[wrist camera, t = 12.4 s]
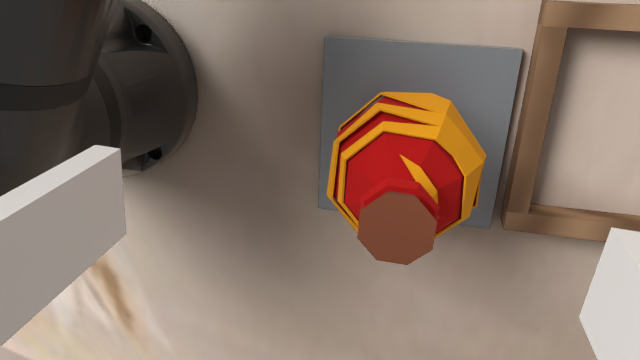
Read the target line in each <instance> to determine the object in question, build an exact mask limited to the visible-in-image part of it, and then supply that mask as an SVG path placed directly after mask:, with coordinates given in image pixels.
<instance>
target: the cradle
mask: <svg viewBox="0 0 640 360" xmlns="http://www.w3.org/2000/svg"><path fill="white" fill-rule="evenodd" d="M568 28H586V29H604V30H622V31H640V5H634V4H614V3H593V2H572V1H551V0H542V4H541V9H540V14H539V20H538V25H537V30H536V35H535V41H534V46H533V51H532V56H531V61H530V67H529V72H528V77H527V82H526V87H525V93H524V98H523V103H522V108H521V113H520V119H519V124H518V129H517V134H516V139H515V145H514V150H513V155H512V160H511V165H510V171H509V176H508V181H507V186H506V191H505V197H504V202H503V207H502V212H501V217H500V218H501V222H502V225H503V229H504V230H513V231H521V232H529V233H538V234H546V235H554V236H563V237H571V238H580V239H588V240H596V241H605V242H606V241H607V238H608V235H609V232H610V230H611V227H612V228H618V229H625V230H631V231H637V232H640V216H635V215H626V214H617V213H608V212H599V211H590V210H581V209H572V208H563V207H554V206H545V205H536V204H530V202H531V197H532V193H533V188H534V183H535V179H536V174H537V169H538V165H539V160H540V155H541V151H542V146H543V141H544V137H545V132H546V127H547V123H548V118H549V114H550V109H551V104H552V100H553V95H554V90H555V86H556V81H557V76H558V72H559V67H560V62H561V58H562V53H563V48H564V44H565V39H566V34H567V30H568Z"/></svg>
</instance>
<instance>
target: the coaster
mask: <svg viewBox="0 0 640 360" xmlns="http://www.w3.org/2000/svg"><path fill="white" fill-rule="evenodd" d="M522 53H523V49H522V48H509V47H493V46H477V45H461V44H445V43H430V42H414V41H398V40H382V39H367V38H351V37H335V36H325V39H324V65H323V91H322V117H321V142H320V168H319V194H318V208H323V209H332V210H338V208H337V207H336V206H335V205H334V204H333V202H332V201H331V200H330V199H329V197H328V196H327V187H328V180H329V172H330V164H331V157H332V149H333V142H334V141H335V140H336V139H337V133H338V129H339V126H340V125H341V124H343V123H344V122H345V121H346V120H348V119H349V118H350V117H351V116H352V115H354V114H355V113H356V112H357V111H358V110H360V109H361V108H362V107H363V106H364V105H366V104H367V103H368V102H369V101H371V100H372V99H373V98H374V97H375V96H377V95H378V94H379V93H380V92H412V93H433V94H436V95H438V96H441V97H443V98H445V99H448V100H450V101H451V102H452V103H453V105H454V106H455V108H456V109H457V111H458V112H459V114H460V115H461V117H462V118H463V120H464V121H465V123H466V125H467V126H468V128H469V129H470V131H471V132H472V134H473V135H474V137H475V138H476V140H477V141H478V143H479V144H480V146H481V148H482V149H483V151H484V152H485V154H486V159H485V162H484V166H483V170H482V176H481V183H480V190H479V197H478V204H477V207H476V208H473V209H472V210H471V214H470V217H469V218H467V219H465V220H464V221H462V222H461V223H459V224H457V225H465V226H473V227H482V228H490V225H491V220H492V215H493V209H494V204H495V198H496V193H497V188H498V182H499V177H500V171H501V166H502V161H503V155H504V150H505V144H506V139H507V134H508V128H509V123H510V117H511V112H512V107H513V101H514V96H515V90H516V85H517V80H518V74H519V69H520V63H521V58H522ZM382 97H385V96H382ZM382 97H381V98H382ZM381 98H379V99H378V100H376V101H374V102H373V103H372V104H371V105H370V106H368V107H367V108H366V109H365V110H364V111H366V110H367V109H368V108H370V107H371V106H372V105H373V104H375V103H376V102H377V101H379V100H380V99H381ZM364 111H363V112H364ZM363 112H362V113H363ZM362 113H361V114H362ZM361 114H360V115H361ZM333 199H334V200H335V198H334V197H333ZM335 201H336V200H335ZM336 202H337V201H336Z"/></svg>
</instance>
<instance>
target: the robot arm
mask: <svg viewBox="0 0 640 360" xmlns="http://www.w3.org/2000/svg"><path fill="white" fill-rule="evenodd" d="M196 109H197V84H196V78H195V73H194V69H193V66H192V63H191V60H190V58H189V55H188V53H187V51H186V49H185V47H184V45H183V43H182V41H181V40H180V38H179V37H178V35H177V34H176V32H175V31H174V30H173V28H172V27H171V26H170V25H169V24H168V22H167V21H166V20H165V19H164V18H163V17H162V16H161V15H160V14H159V13H157V12H156V11H155V10H154V9H152V8H151V7H150V6H148V5H147V4H145V3H144V2H142V1H141V0H0V347H1V346H2V345H3V344H4V343H5V342H6V341H7V340H9V339H10V338H11V337H12V336H13V335H14V334H15V333H16V332H17V331H19V330H20V329H21V328H22V327H23V326H24V325H25V324H26V323H27V322H29V321H30V320H31V319H32V318H33V317H34V316H35V315H36V314H38V313H39V312H40V311H41V310H42V309H43V308H44V307H45V306H46V305H48V304H49V303H50V302H51V301H52V300H53V299H54V298H55V297H56V296H58V295H59V294H60V293H61V292H62V291H63V290H64V289H65V288H66V287H68V286H69V285H70V284H71V283H72V282H73V281H74V280H75V279H76V278H78V277H79V276H80V275H81V274H82V273H83V272H84V271H85V270H87V269H88V268H89V267H90V266H91V265H92V264H93V263H94V262H95V261H97V260H98V259H99V258H100V257H101V256H102V255H103V254H104V253H105V252H107V251H108V250H109V249H110V248H111V247H112V246H113V245H114V244H115V243H117V242H118V241H119V240H120V239H121V238H122V237H123V236H124V235H125V234H126V224H125V209H124V194H123V180H122V177H124V176H131V175H135V174H139V173H142V172H144V171H147V170H149V169H151V168H153V167H155V166H157V165H158V164H159V163H161V162H162V161H164V160H165V159H167V158H168V157H169V156H171V155H172V154H173V153H174V152H175V151H176V150H177V149H178V148H179V147H180V146H181V145H182V144H183V142H184V141H185V139H186V138H187V136H188V134H189V132H190V130H191V128H192V125H193V122H194V119H195V115H196ZM579 318H580V321H581V323H582V325H583V328H584V330H585V332H586V335H587V337H588V339H589V342H590V344H591V346H592V349H593V351H594V353H595V355H596V358H597V360H640V232H637V231H631V230H625V229H618V228H612V227H611V230H610V232H609V235H608V238H607V241H606V244H605V246H604V249H603V252H602V255H601V257H600V260H599V263H598V266H597V269H596V271H595V274H594V277H593V280H592V282H591V285H590V288H589V291H588V293H587V296H586V299H585V302H584V305H583V307H582V310H581V313H580V316H579Z"/></svg>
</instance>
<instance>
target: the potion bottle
mask: <svg viewBox="0 0 640 360" xmlns="http://www.w3.org/2000/svg"><path fill="white" fill-rule="evenodd" d="M382 96H385V97H382ZM381 97H382V98H381ZM379 98H381V99H380V100H379V101H377V102H376V103H375V104H373V105H372V106H371V107H370V108H368V109H367V110H366V111H364V110H365V109H366V108H367V107H368V106H370V105H371V104H372V103H373V102H374V101H376V100H378V99H379ZM363 111H364V112H363ZM362 112H363V113H362ZM361 113H362V114H361ZM360 114H361V115H360ZM485 159H486V154H485V152H484V151H483V149H482V148H481V146H480V144H479V143H478V141H477V140H476V138H475V137H474V135H473V134H472V132H471V131H470V129H469V128H468V126H467V125H466V123H465V121H464V120H463V118H462V117H461V115H460V114H459V112H458V111H457V109H456V108H455V106H454V105H453V103H452V102H451V101H450V100H448V99H445V98H443V97H441V96H438V95H436V94H433V93H412V92H380V93H379V94H378V95H377V96H375V97H374V98H373V99H372V100H371V101H369V102H368V103H367V104H366V105H364V106H363V107H362V108H361V109H360V110H358V111H357V112H356V113H355V114H354V115H352V116H351V117H350V118H349V119H348V120H346V121H345V122H344V123H343V124H341V125H340V126H339V129H338V133H337V139H336V140H335V141H334V142H333V149H332V157H331V164H330V172H329V180H328V187H327V196H328V197H329V199H330V200H331V201H332V202H333V204H334V205H335V206H336V207H337V208H338V210H339V211H340V212H341V213H342V215H343V216H344V217H345V218H346V220H347V221H348V222H349V223H350V225H351V226H352V227H353V228H354V230H355V231H356V232H357V233H358V236H357V238H358V239H359V240H360V242H361V243H362V244H363V245H364V246H365V247H366V248H367V250H368V251H369V252H370V253H371V254H372V255H373V256H374V258H375V259H376V260H380V261H386V262H392V263H398V264H405V265H408V264H409V263H411V262H413V261H414V260H416V259H418V258H419V257H421V256H423V255H424V254H426V253H428V252H429V251H431V250H432V249H433V243H434V239H435V238H436V237H438V236H440V235H441V234H443V233H444V232H446V231H448V230H449V229H451V228H452V227H454V226H456V225H457V224H459V223H461V222H462V221H464V220H465V219H467V218H469V217H470V214H471V210H472V209H473V208H476V207H477V204H478V197H479V190H480V183H481V176H482V170H483V166H484V162H485ZM333 197H334V198H335V200H336V201H337V202H336V201H335V200H334V199H333Z"/></svg>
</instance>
